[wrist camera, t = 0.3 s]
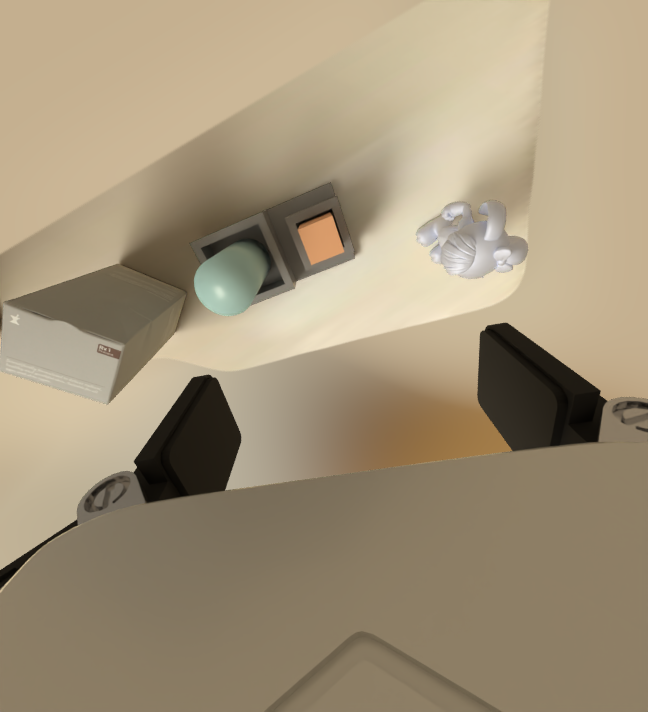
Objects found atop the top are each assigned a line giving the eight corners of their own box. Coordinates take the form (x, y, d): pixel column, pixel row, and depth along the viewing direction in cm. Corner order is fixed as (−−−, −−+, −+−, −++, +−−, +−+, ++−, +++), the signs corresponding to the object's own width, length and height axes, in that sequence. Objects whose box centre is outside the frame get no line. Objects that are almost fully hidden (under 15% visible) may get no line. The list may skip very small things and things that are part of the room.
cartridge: (240, 288, 36) (213, 323, 26) (219, 248, 34) (182, 270, 24) (277, 273, 35) (264, 304, 26) (259, 231, 33) (236, 247, 24)
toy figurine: (400, 233, 35) (439, 252, 24) (448, 189, 33) (513, 187, 22) (435, 277, 37) (484, 312, 27) (482, 238, 35) (554, 258, 25)
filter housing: (236, 302, 38) (228, 314, 34) (201, 237, 34) (189, 243, 31) (354, 256, 36) (358, 263, 32) (330, 182, 32) (332, 181, 29)
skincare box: (109, 309, 38) (-11, 377, 24) (119, 255, 35) (-10, 297, 21) (178, 336, 40) (105, 415, 26) (193, 287, 37) (120, 346, 23)
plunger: (311, 255, 33) (311, 265, 28) (299, 224, 31) (297, 229, 27) (340, 243, 32) (344, 252, 28) (329, 212, 31) (332, 215, 26)
